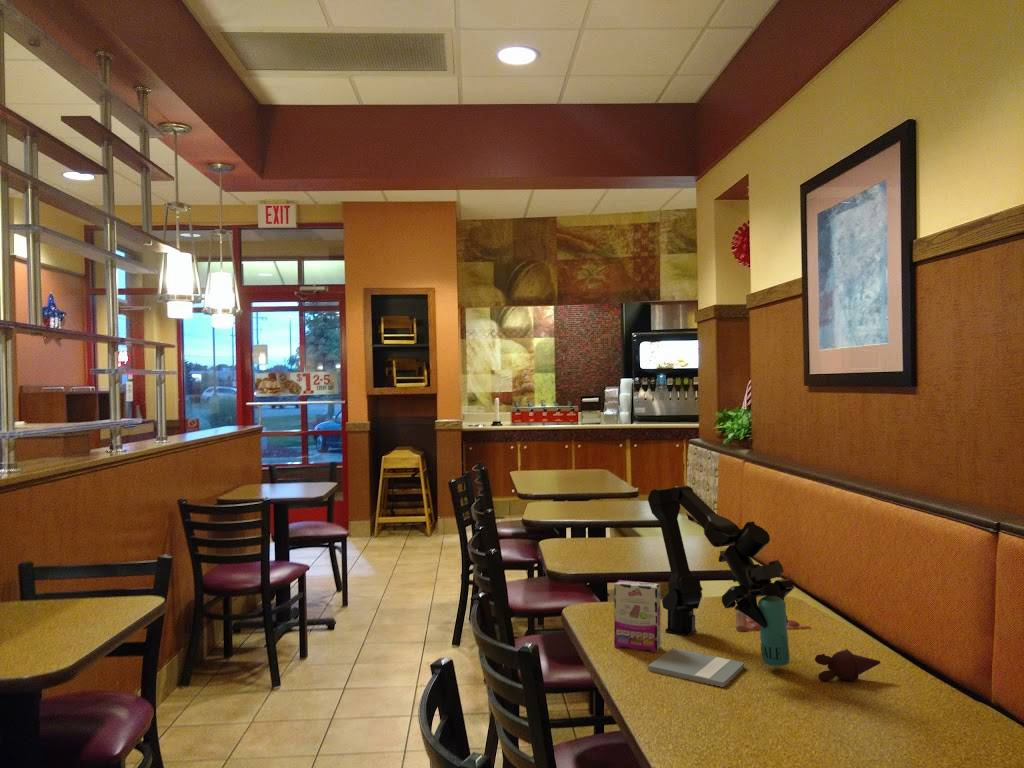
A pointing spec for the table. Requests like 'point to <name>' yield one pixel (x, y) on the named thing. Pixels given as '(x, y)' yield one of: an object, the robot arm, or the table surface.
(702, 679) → the grey flat rectangular block
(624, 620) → the candy bar box
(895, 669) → the table surface
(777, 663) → the beverage bottle
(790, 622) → the pizza slice
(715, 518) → the robot arm
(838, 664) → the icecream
